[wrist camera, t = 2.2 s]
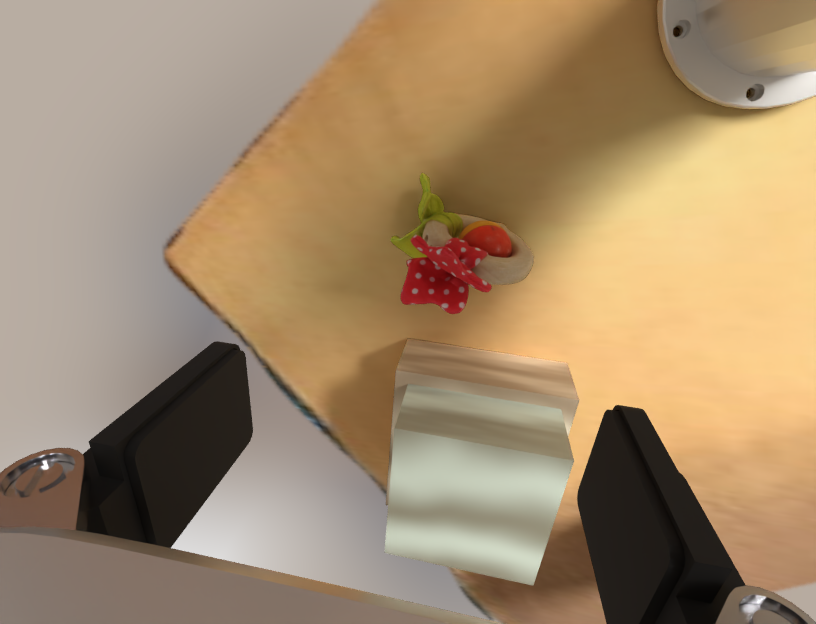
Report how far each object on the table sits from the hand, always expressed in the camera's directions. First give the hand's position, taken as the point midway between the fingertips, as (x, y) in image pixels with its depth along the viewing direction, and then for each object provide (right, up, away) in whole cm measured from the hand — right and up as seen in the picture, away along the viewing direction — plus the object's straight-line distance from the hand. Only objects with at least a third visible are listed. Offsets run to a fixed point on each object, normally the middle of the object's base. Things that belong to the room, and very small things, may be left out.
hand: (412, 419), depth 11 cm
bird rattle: (+4, +9, +20) cm, 22 cm away
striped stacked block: (+6, -7, +26) cm, 28 cm away
